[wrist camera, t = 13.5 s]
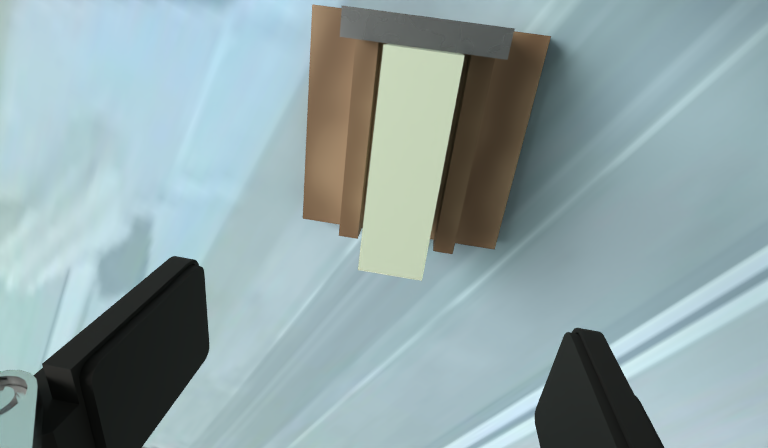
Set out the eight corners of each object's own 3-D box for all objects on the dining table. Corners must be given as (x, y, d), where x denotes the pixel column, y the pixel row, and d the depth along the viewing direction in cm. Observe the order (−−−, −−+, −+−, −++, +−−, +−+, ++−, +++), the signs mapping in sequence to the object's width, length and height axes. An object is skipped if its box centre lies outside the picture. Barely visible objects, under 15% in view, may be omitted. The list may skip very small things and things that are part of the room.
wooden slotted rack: (544, 36, 30) (558, 36, 26) (491, 238, 36) (497, 261, 33) (319, 6, 31) (304, 2, 27) (309, 209, 37) (295, 228, 34)
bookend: (497, 29, 28) (514, 28, 22) (492, 53, 29) (507, 59, 22) (363, 11, 29) (341, 5, 22) (361, 35, 29) (339, 36, 23)
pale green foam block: (457, 48, 29) (464, 55, 21) (425, 221, 34) (421, 280, 26) (398, 40, 29) (383, 44, 21) (376, 213, 35) (358, 269, 26)
